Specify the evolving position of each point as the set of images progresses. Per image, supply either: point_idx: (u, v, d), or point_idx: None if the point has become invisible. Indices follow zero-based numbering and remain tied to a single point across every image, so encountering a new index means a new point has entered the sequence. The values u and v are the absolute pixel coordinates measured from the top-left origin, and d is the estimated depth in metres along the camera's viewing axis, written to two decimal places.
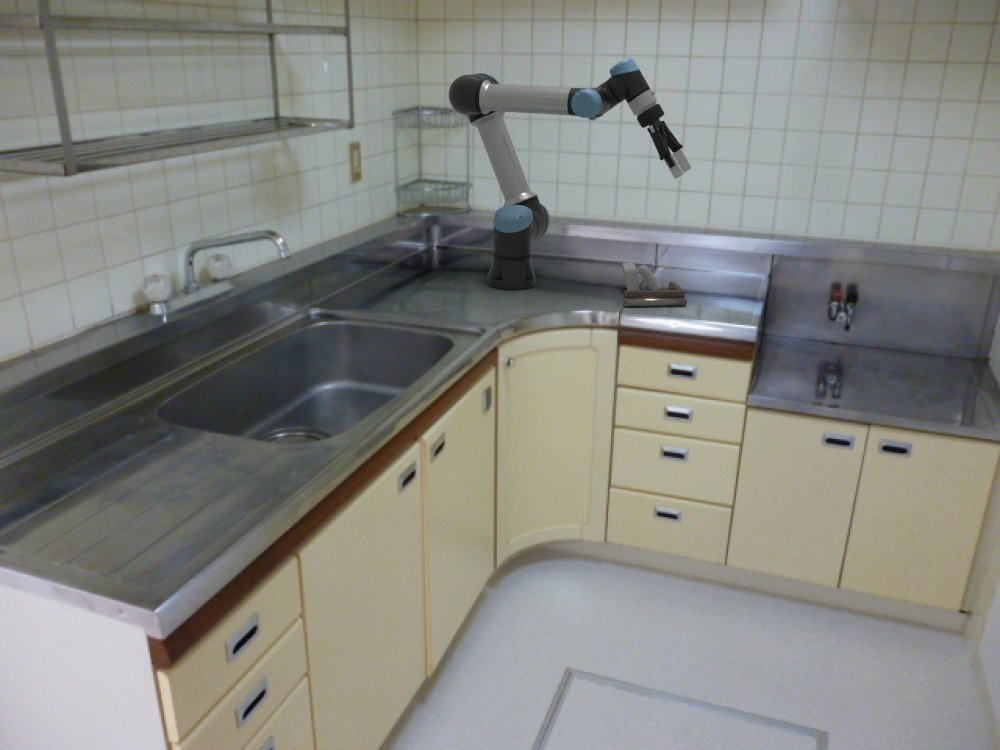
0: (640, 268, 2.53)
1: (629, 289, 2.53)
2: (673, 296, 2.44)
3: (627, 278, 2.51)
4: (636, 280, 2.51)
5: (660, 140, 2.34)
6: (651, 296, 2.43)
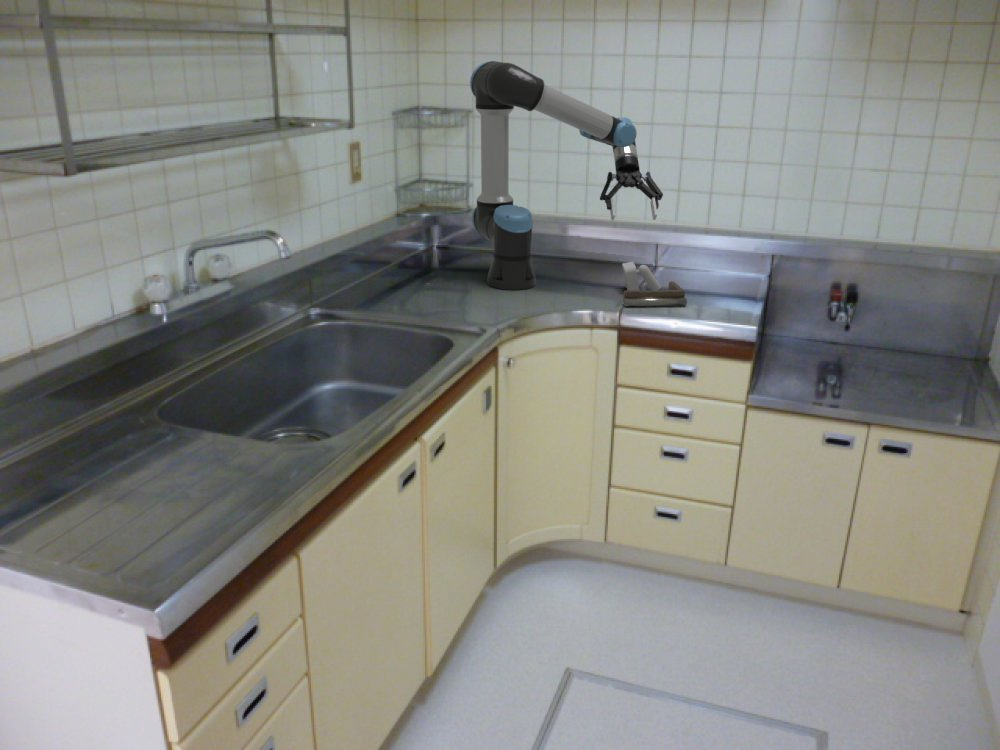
0: (640, 268, 2.53)
1: (629, 289, 2.53)
2: (673, 296, 2.44)
3: (627, 278, 2.51)
4: (636, 280, 2.51)
5: None
6: (651, 296, 2.43)
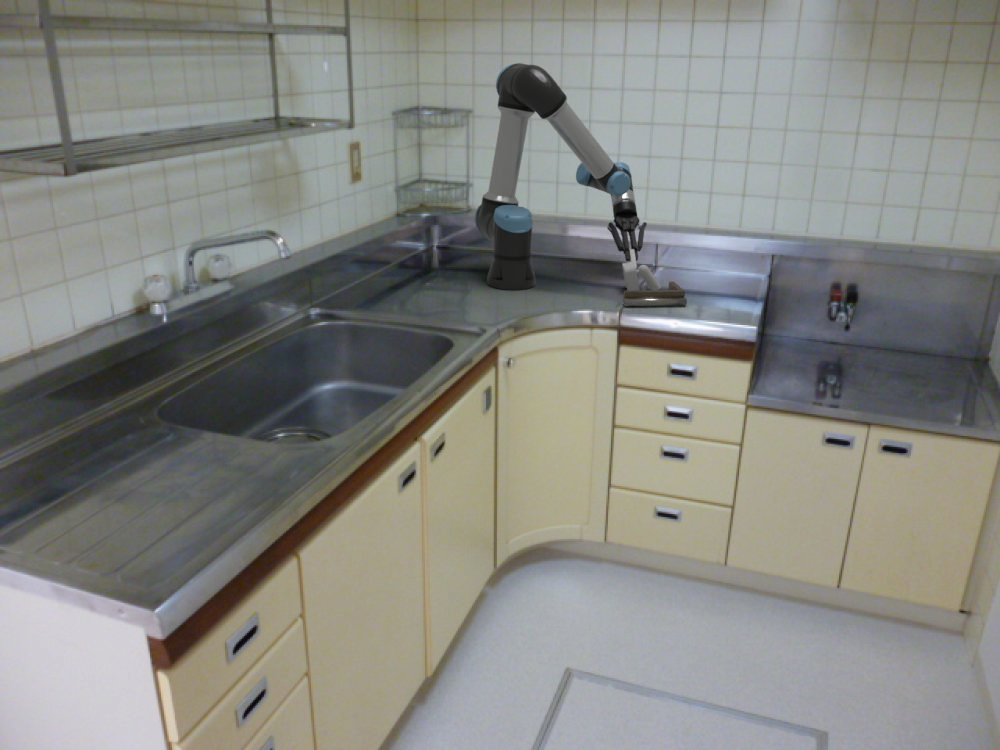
0: (640, 268, 2.53)
1: (629, 289, 2.53)
2: (673, 296, 2.44)
3: (627, 278, 2.51)
4: (636, 280, 2.51)
5: None
6: (651, 296, 2.43)
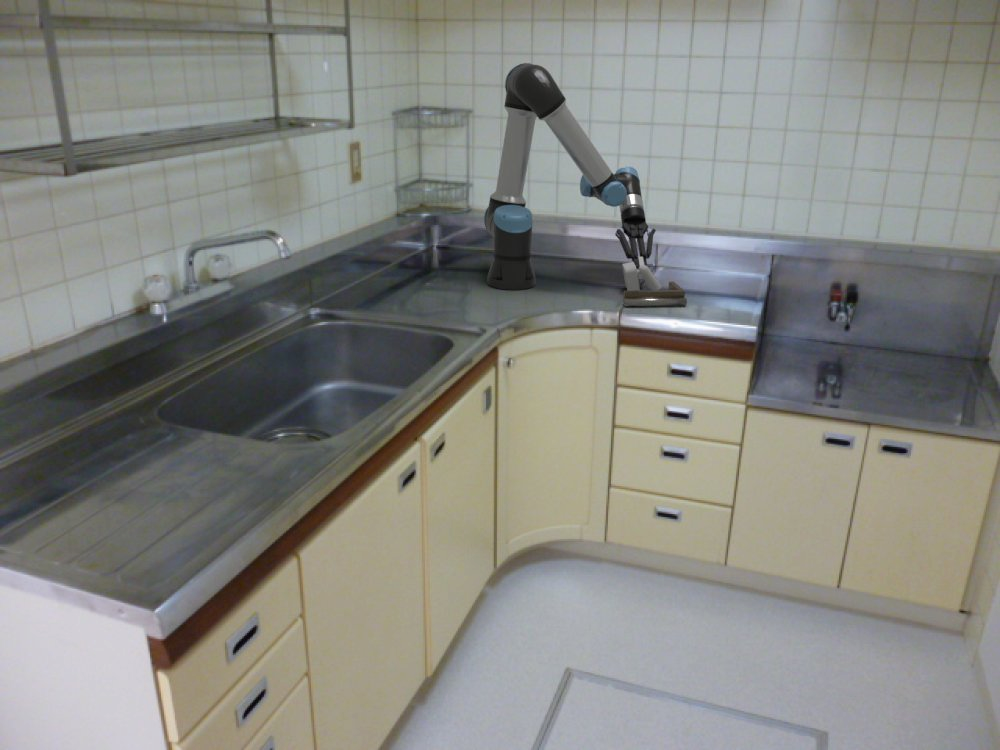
0: (640, 268, 2.53)
1: (629, 289, 2.52)
2: (673, 296, 2.44)
3: (627, 278, 2.51)
4: (636, 280, 2.51)
5: None
6: (651, 296, 2.43)
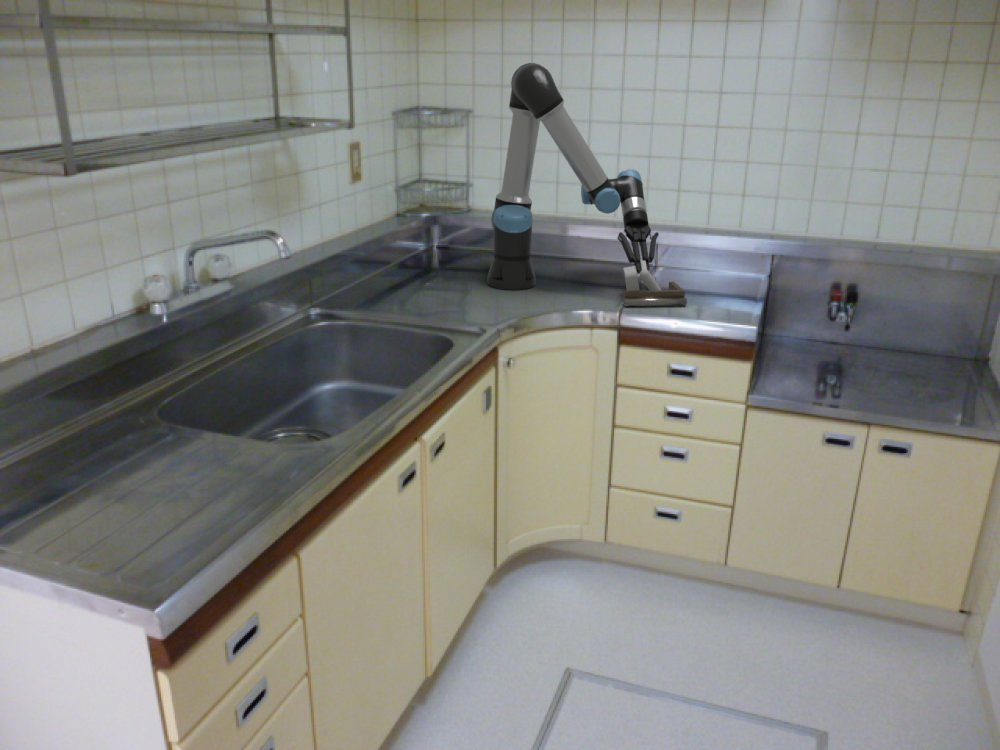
0: (641, 273, 2.48)
1: None
2: (673, 296, 2.44)
3: (628, 283, 2.46)
4: (637, 285, 2.46)
5: None
6: (651, 296, 2.43)
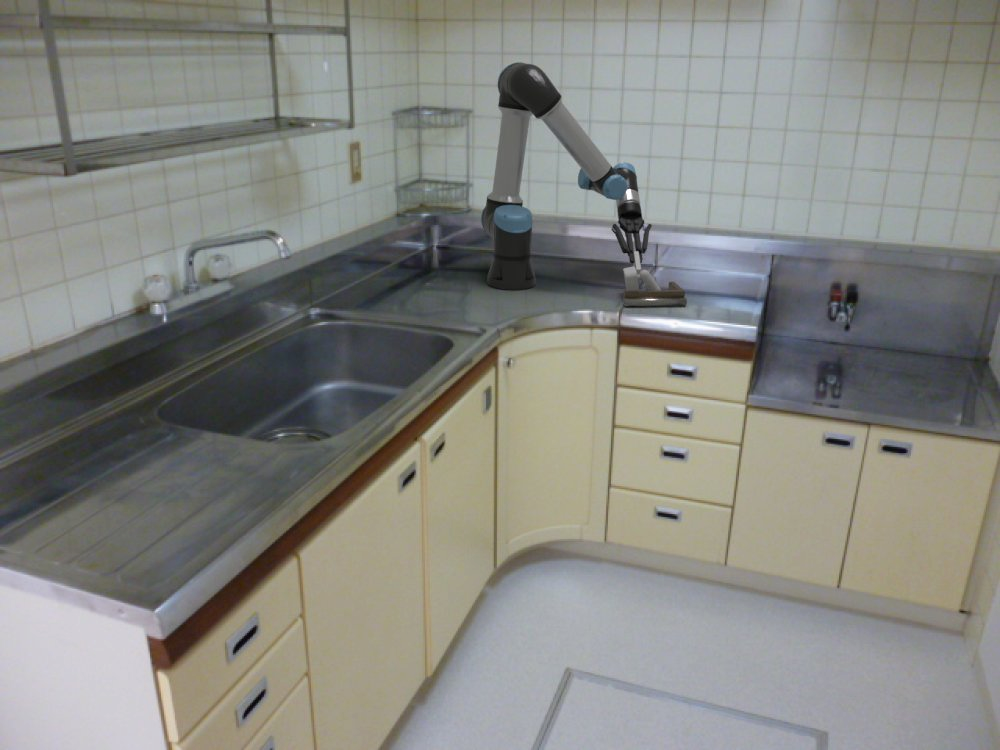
0: (641, 273, 2.48)
1: None
2: (673, 296, 2.44)
3: (627, 283, 2.46)
4: (637, 285, 2.46)
5: None
6: (651, 296, 2.43)
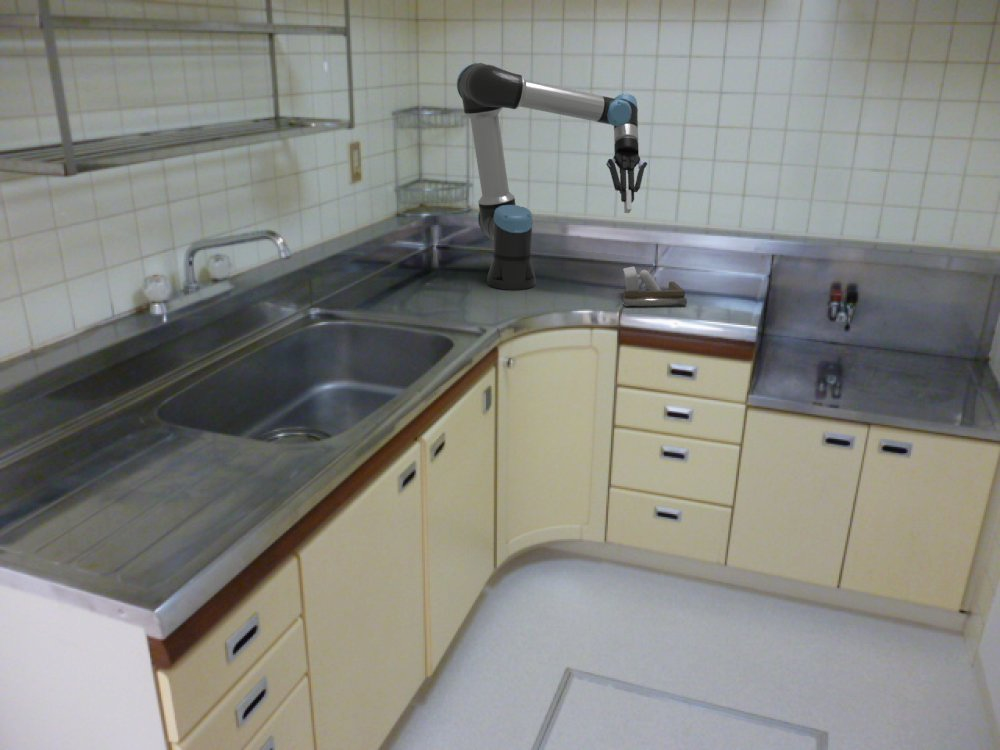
0: (641, 273, 2.48)
1: None
2: (673, 296, 2.44)
3: (627, 283, 2.46)
4: (637, 285, 2.46)
5: None
6: (651, 296, 2.43)
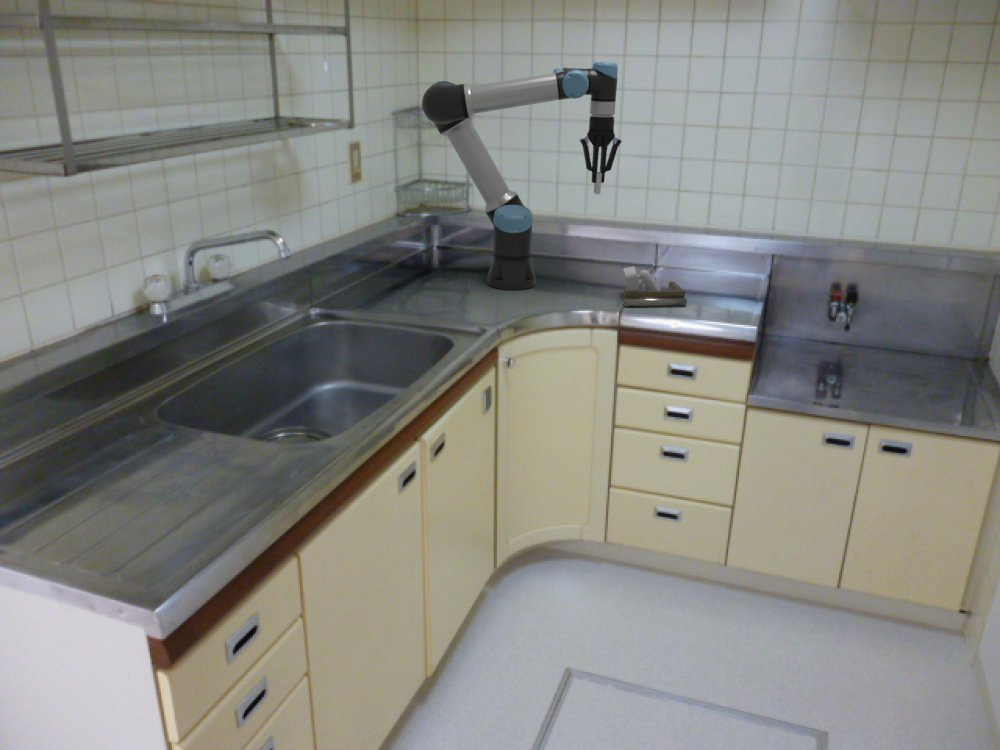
0: (641, 273, 2.48)
1: None
2: (673, 296, 2.44)
3: (627, 283, 2.46)
4: (637, 285, 2.46)
5: None
6: (651, 296, 2.43)
